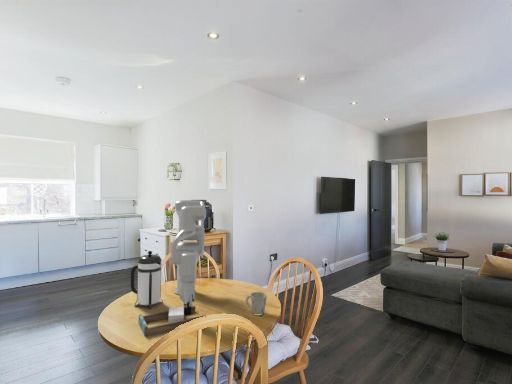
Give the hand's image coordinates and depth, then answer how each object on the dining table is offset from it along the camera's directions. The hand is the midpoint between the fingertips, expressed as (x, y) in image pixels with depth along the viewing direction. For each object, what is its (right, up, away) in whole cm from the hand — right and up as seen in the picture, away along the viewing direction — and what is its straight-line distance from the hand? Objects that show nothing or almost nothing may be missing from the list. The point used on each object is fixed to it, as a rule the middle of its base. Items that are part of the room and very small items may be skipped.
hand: (187, 314), depth 142 cm
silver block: (-5, -2, -2) cm, 6 cm away
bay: (-6, -2, -4) cm, 8 cm away
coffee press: (-27, -2, +18) cm, 33 cm away
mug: (+34, -3, +9) cm, 35 cm away
